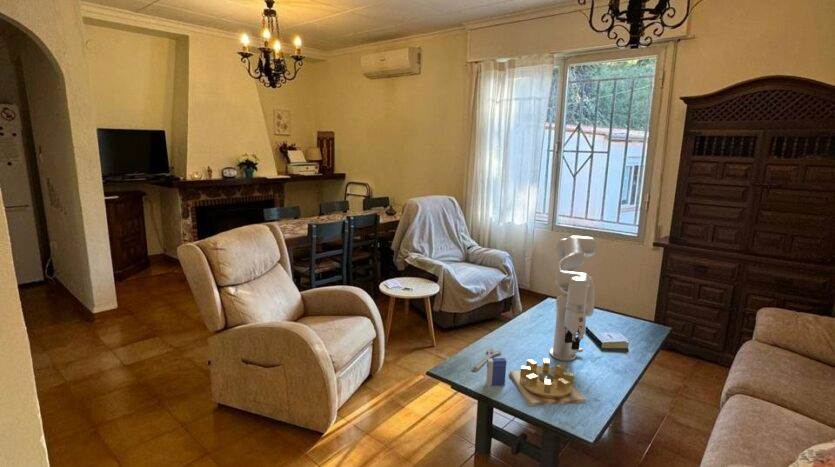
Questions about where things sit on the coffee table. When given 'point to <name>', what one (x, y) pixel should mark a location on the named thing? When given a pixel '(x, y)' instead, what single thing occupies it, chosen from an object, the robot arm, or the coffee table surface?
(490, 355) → the adjustable wrench
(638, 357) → the coffee table surface
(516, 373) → the base plate
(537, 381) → the bevel gear
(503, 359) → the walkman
